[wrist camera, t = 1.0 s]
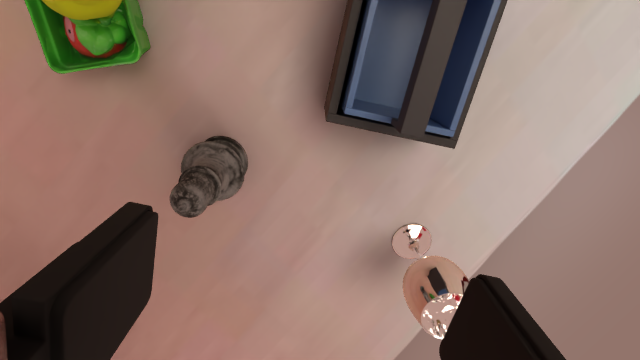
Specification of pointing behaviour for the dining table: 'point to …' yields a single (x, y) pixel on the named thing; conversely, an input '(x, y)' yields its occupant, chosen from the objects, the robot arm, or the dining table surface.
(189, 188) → the grey chess piece
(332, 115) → the black tote
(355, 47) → the blue tote
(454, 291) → the wineglass
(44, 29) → the fruit basket
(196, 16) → the dining table surface
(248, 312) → the dining table surface
